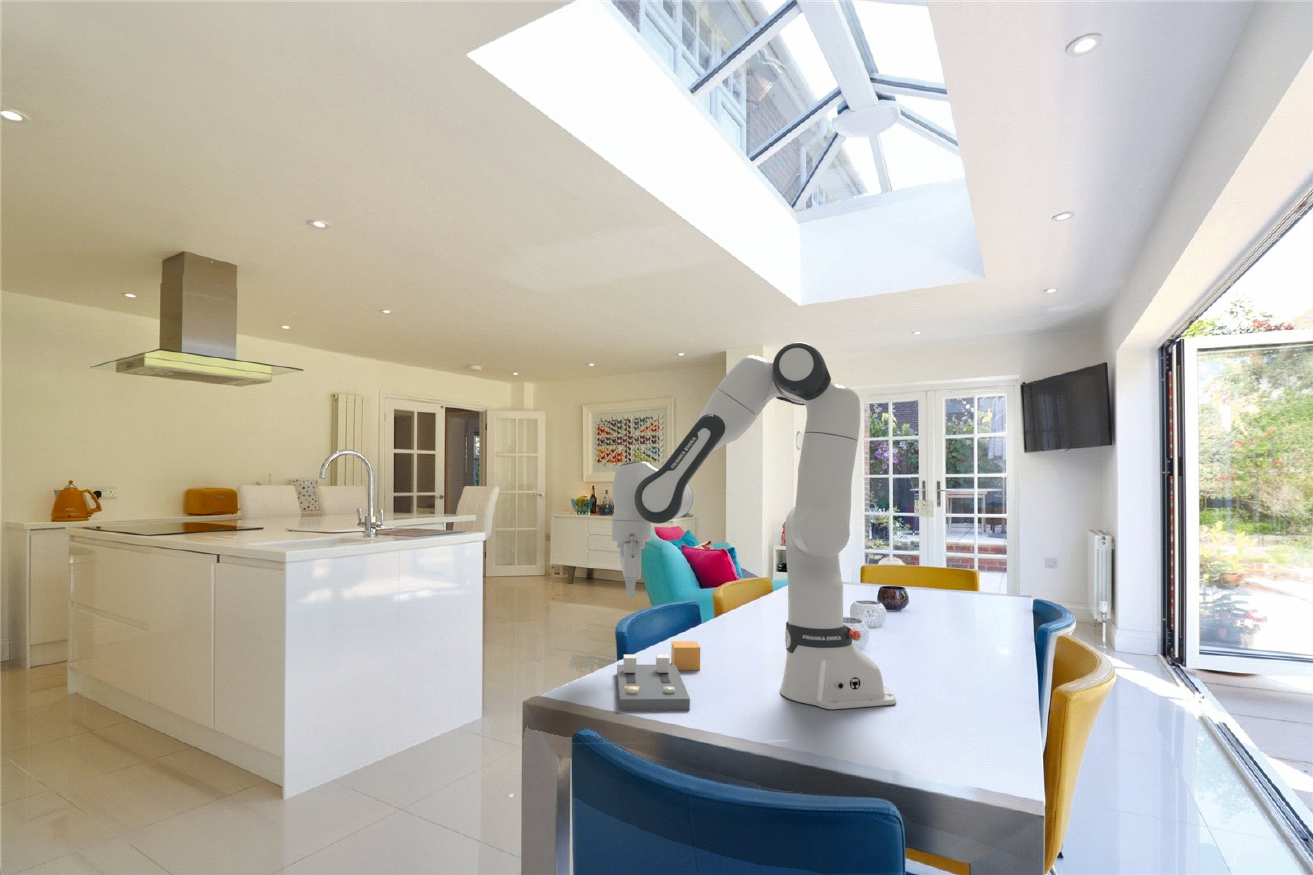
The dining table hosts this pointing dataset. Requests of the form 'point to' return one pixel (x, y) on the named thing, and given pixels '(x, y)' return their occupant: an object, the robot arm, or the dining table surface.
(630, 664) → the block
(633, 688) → the breaker panel
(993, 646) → the dining table surface
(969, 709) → the dining table surface
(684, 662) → the cap
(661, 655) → the block
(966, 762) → the dining table surface
